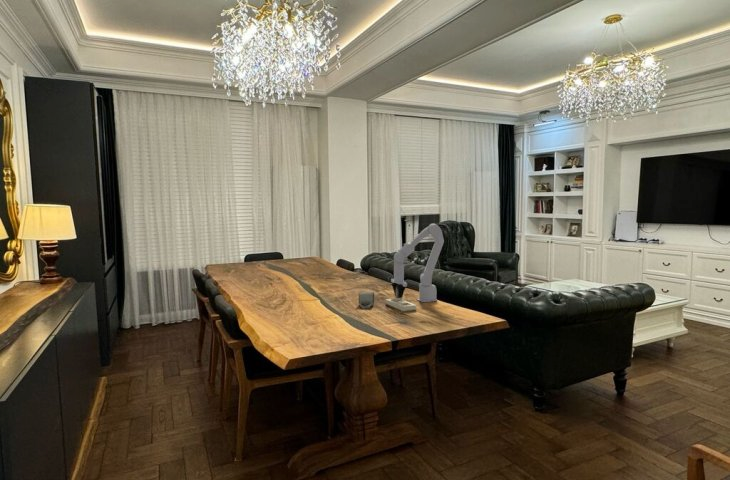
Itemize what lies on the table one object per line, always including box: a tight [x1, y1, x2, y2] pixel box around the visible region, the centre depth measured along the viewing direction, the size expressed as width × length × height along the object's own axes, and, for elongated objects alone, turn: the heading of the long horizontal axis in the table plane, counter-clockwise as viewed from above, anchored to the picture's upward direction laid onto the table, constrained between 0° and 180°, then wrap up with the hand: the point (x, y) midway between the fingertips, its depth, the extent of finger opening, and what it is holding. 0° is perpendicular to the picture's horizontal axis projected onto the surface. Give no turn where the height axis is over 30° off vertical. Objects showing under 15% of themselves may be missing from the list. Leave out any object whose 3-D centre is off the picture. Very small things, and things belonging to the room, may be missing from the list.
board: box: [385, 297, 417, 314], centre depth 226 cm, size 8×18×3 cm, turn 27°
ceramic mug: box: [358, 291, 375, 309], centre depth 229 cm, size 11×8×8 cm
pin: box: [395, 287, 403, 300], centre depth 243 cm, size 4×4×8 cm
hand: (398, 296), depth 243 cm, fingers closed on pin, 3 cm apart
